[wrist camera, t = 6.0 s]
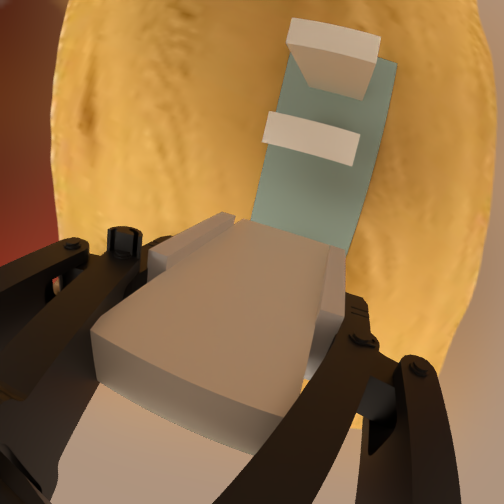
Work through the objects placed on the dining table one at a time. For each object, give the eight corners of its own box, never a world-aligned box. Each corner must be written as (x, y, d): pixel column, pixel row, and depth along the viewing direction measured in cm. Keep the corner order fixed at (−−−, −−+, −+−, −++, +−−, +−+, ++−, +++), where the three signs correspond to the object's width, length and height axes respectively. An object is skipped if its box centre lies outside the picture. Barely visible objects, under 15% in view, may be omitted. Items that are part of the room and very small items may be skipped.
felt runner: (294, 39, 24) (293, 37, 23) (396, 65, 22) (397, 63, 21) (228, 323, 36) (226, 325, 35) (308, 351, 34) (307, 354, 33)
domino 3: (299, 128, 26) (269, 110, 15) (352, 143, 25) (360, 134, 14) (294, 147, 27) (261, 142, 16) (347, 161, 26) (352, 166, 15)
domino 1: (243, 218, 17) (85, 327, 6) (329, 245, 16) (293, 420, 5) (236, 247, 18) (93, 377, 7) (319, 274, 17) (269, 460, 6)
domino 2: (313, 70, 24) (292, 17, 13) (366, 83, 23) (381, 36, 12) (309, 87, 24) (285, 43, 14) (362, 101, 23) (376, 63, 13)
